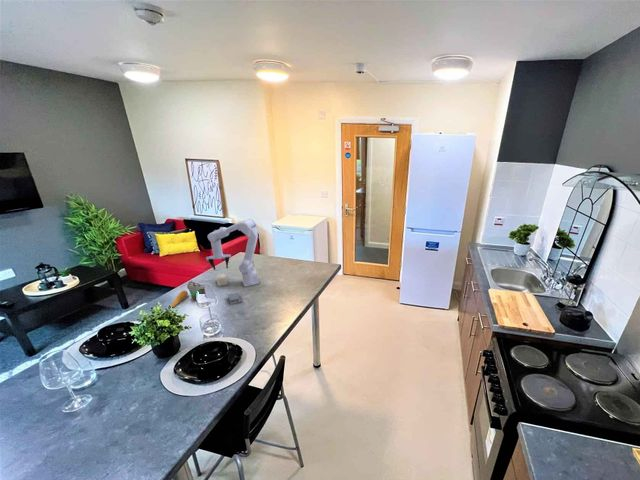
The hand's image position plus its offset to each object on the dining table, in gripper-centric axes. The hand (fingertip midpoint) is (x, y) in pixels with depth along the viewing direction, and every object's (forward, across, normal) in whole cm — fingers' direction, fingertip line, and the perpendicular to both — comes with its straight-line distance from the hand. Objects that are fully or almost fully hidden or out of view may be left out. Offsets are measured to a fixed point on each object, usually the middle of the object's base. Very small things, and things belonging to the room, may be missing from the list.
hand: (221, 268), depth 195 cm
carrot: (+10, -25, -24) cm, 35 cm away
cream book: (+7, -1, -3) cm, 7 cm away
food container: (+10, -14, -22) cm, 28 cm away
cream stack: (+9, -1, -3) cm, 10 cm away
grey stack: (+9, +7, -31) cm, 33 cm away
